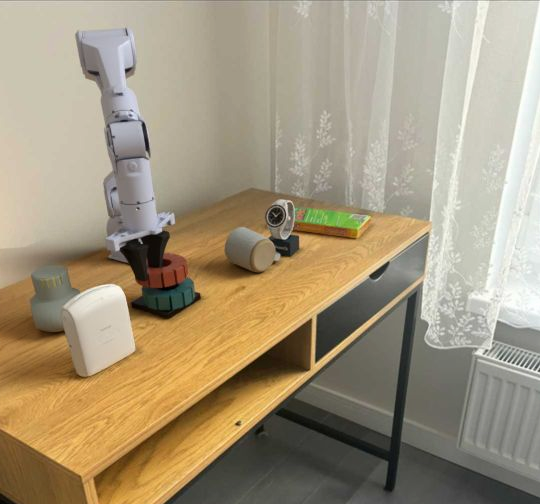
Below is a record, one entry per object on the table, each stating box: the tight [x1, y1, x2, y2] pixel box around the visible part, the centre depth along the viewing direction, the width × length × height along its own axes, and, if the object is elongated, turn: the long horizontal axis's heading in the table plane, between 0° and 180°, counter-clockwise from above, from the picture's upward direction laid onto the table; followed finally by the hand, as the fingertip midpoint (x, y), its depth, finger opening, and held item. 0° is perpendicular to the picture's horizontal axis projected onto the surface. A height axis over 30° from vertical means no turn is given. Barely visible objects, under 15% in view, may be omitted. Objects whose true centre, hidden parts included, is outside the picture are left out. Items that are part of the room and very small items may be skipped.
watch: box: [264, 198, 300, 257], centre depth 128 cm, size 6×8×11 cm
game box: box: [292, 206, 372, 239], centre depth 142 cm, size 3×10×20 cm
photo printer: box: [60, 283, 136, 378], centre depth 92 cm, size 10×4×12 cm, turn 140°
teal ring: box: [141, 276, 196, 310], centre depth 110 cm, size 9×9×3 cm
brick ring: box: [134, 252, 189, 288], centre depth 108 cm, size 9×9×3 cm
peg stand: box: [130, 266, 202, 320], centre depth 110 cm, size 9×9×7 cm
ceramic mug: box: [224, 226, 281, 273], centre depth 123 cm, size 11×8×8 cm
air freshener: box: [29, 264, 81, 333], centre depth 104 cm, size 11×8×10 cm
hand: (148, 276), depth 106 cm, fingers closed on brick ring, 3 cm apart
